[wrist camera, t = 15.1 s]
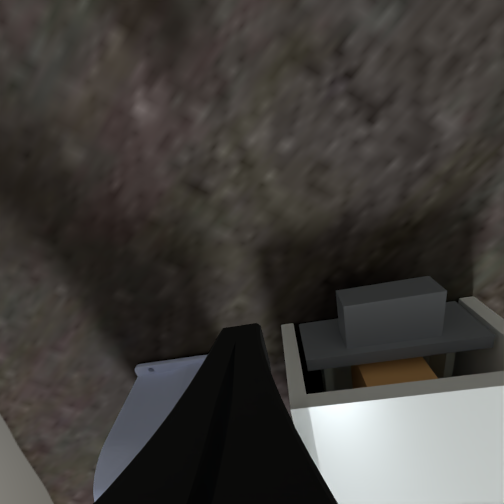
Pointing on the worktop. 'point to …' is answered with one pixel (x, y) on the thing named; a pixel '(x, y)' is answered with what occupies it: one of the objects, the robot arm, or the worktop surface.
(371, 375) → the tan rectangular block
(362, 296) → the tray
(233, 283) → the worktop surface
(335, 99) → the worktop surface
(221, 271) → the worktop surface
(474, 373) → the white drawer box
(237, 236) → the worktop surface
